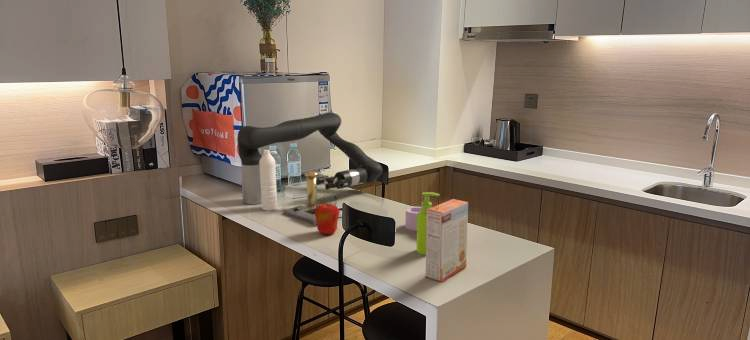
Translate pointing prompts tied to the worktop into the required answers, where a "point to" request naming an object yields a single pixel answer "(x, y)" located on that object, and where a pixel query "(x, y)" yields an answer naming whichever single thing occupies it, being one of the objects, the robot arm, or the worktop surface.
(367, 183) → the robot arm
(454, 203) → the cracker box
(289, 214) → the inner chain end
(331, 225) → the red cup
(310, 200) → the pin
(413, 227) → the purple block with hole
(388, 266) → the worktop surface
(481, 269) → the worktop surface
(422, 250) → the soap dispenser
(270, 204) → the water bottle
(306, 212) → the outer chain end
